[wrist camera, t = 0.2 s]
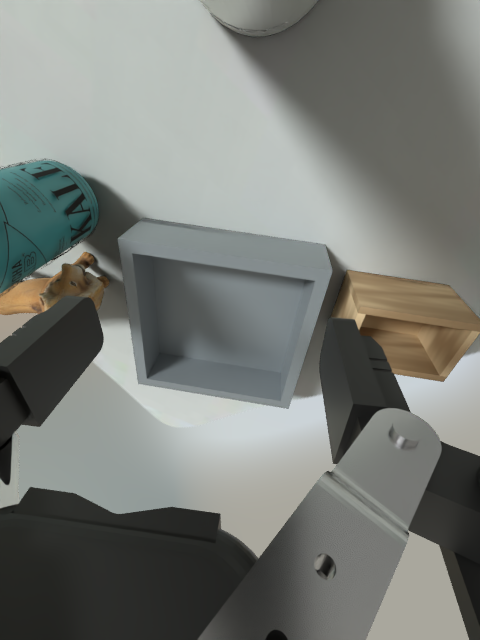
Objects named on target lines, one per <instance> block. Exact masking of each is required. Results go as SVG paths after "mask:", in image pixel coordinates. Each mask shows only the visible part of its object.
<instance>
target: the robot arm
mask: <svg viewBox="0 0 480 640" xmlns="http://www.w3.org/2000/svg"><path fill="white" fill-rule="evenodd" d="M317 1H318V0H200V2H201V3H202V4H203V5H204V6H205V8H206V9H207V10H208V11H209V12H210V13H211V15H212V16H213V17H215V18H216V19H217V20H218V21H219V22H220V23H221V24H223V25H224V26H226V27H228V28H229V29H231V30H233V31H234V32H237V33H240V34H244V35H248V36H269V35H272V34H275V33H278V32H282V31H284V30H285V29H287V28H289V27H290V26H292V25H293V24H295V23H297V22H298V21H299V20H300V19H301V18H302V17H303V16H305V15H306V14H307V13H308V12H309V11H310V10H311V9H312V8H313V7H314V5H315V4H316V2H317ZM102 345H103V332H102V328H101V325H100V321H99V318H98V314H97V311H96V307H95V304H94V302H93V300H92V299H91V298H89V297H78V296H65V297H63V298H62V299H61V300H59V301H58V302H57V303H56V304H54V305H53V306H52V307H51V308H49V309H48V310H46V311H44V312H42V313H40V314H38V315H36V316H34V317H33V318H31V319H30V320H29V321H28V322H26V323H25V324H24V325H23V326H22V328H19V329H17V330H16V331H15V332H14V333H12V336H9V337H7V338H6V339H5V340H3V341H2V342H1V343H0V640H366V638H367V636H368V633H369V631H370V628H371V626H372V624H373V622H374V619H375V617H376V614H377V612H378V610H379V607H380V605H381V603H382V600H383V598H384V595H385V593H386V591H387V589H388V586H389V584H390V582H391V579H392V577H393V575H394V572H395V570H396V568H397V565H398V563H399V561H400V558H401V556H402V553H403V551H404V549H405V546H406V544H407V541H408V537H409V533H408V532H407V531H408V530H409V531H411V532H413V533H415V534H417V535H419V536H422V537H424V538H426V539H428V540H430V541H432V542H434V543H436V544H439V545H440V549H441V552H442V555H443V558H444V561H445V564H446V567H447V570H448V574H449V577H450V580H451V583H452V586H453V590H454V593H455V596H456V599H457V602H458V605H459V608H460V612H461V615H462V618H463V621H464V624H465V627H466V631H467V634H468V637H469V640H480V456H478V455H475V454H472V453H469V452H467V451H464V450H461V449H458V448H456V447H453V446H450V445H448V444H445V443H443V442H442V441H440V439H439V437H438V435H437V434H436V432H435V431H434V430H433V429H432V427H431V426H430V425H429V424H428V423H427V422H425V421H424V420H423V419H421V418H420V417H418V416H416V415H414V414H412V413H411V412H410V410H409V407H408V405H407V403H406V401H405V398H404V396H403V394H402V391H401V389H400V387H399V385H398V382H397V380H396V378H395V376H394V373H393V372H392V369H391V366H390V364H389V362H387V357H386V355H385V353H384V351H383V348H382V347H381V346H380V345H379V344H378V343H377V342H376V341H375V340H374V339H373V338H372V337H371V336H362V335H360V332H359V329H358V327H357V324H356V321H355V320H354V319H345V318H333V317H330V318H329V320H328V323H327V328H326V332H325V337H324V341H323V346H322V350H321V355H320V367H319V368H320V378H321V385H322V392H323V398H324V405H325V412H326V419H327V426H328V433H329V439H330V446H331V453H332V460H333V464H337V465H336V467H335V468H334V469H333V470H332V472H329V471H327V472H325V473H324V474H323V475H322V476H321V477H320V479H319V480H318V481H317V482H316V484H315V485H314V486H313V488H312V489H311V490H310V491H309V493H308V494H307V495H306V497H305V498H304V499H303V501H302V502H301V503H300V505H299V506H298V507H297V509H296V510H295V511H294V513H293V514H292V515H291V517H290V518H289V519H288V521H287V522H286V523H285V525H284V526H283V527H282V529H281V530H280V531H279V532H278V534H277V535H276V536H275V538H274V539H273V540H272V542H271V543H270V544H269V546H268V547H267V548H266V550H265V551H264V552H263V554H262V555H261V556H260V558H258V557H257V556H256V555H255V554H254V553H253V552H252V551H251V550H250V549H249V548H248V547H247V546H246V545H245V544H244V543H243V542H242V541H240V540H239V539H237V538H236V537H234V536H233V535H231V534H229V533H228V532H225V531H224V530H222V529H221V520H220V519H221V518H220V514H218V513H211V512H204V511H197V510H190V509H182V508H175V507H168V508H161V509H154V510H147V511H139V512H133V513H125V514H115V513H112V512H110V511H108V510H106V509H104V508H102V507H100V506H98V505H96V504H94V503H92V502H90V501H89V500H87V499H85V498H83V497H81V496H79V495H77V494H74V493H68V492H61V491H54V490H47V489H40V488H33V487H30V488H29V490H28V491H27V492H26V494H25V495H24V497H23V498H22V499H21V501H20V498H19V492H18V484H19V435H18V433H17V432H16V430H17V429H18V428H19V427H20V425H30V426H38V427H40V426H41V424H42V423H43V422H44V421H45V419H46V418H47V417H48V416H49V415H50V413H51V412H52V411H53V410H54V408H55V407H56V406H57V404H58V403H59V402H60V401H61V400H62V398H63V397H64V396H65V394H66V393H67V392H68V391H69V390H70V388H71V387H72V386H73V384H74V383H75V382H76V381H77V379H78V378H79V377H80V375H81V374H82V373H83V372H84V371H85V369H86V368H87V367H88V366H89V364H90V363H91V362H92V361H93V359H94V358H95V357H96V356H97V354H98V353H99V352H100V350H101V348H102Z"/></svg>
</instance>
